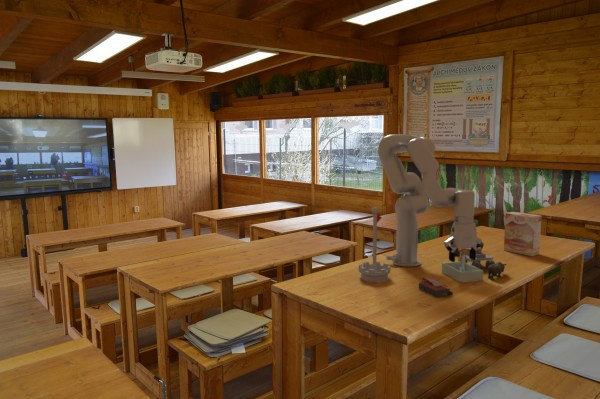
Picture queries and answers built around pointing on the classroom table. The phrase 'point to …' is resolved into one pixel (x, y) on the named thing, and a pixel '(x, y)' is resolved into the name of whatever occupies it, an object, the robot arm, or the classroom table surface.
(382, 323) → the classroom table surface
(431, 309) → the classroom table surface
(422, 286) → the walkie-talkie
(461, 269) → the pin
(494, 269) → the rhino figurine
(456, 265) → the tray
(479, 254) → the trolley
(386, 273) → the flag stand
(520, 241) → the coffeecake box
